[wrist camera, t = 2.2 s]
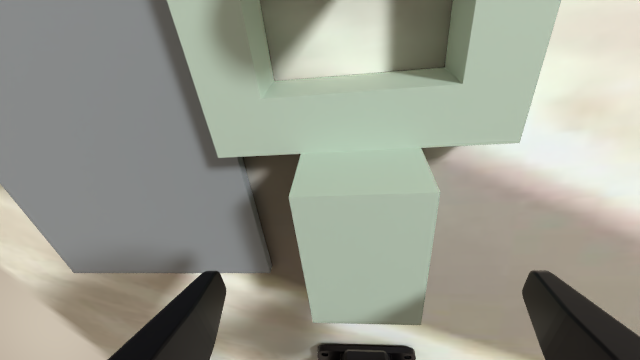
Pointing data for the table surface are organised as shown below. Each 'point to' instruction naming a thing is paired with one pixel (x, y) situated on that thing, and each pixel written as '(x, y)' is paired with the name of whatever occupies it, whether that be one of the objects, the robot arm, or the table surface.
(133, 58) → the mat
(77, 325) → the table surface
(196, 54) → the c link
